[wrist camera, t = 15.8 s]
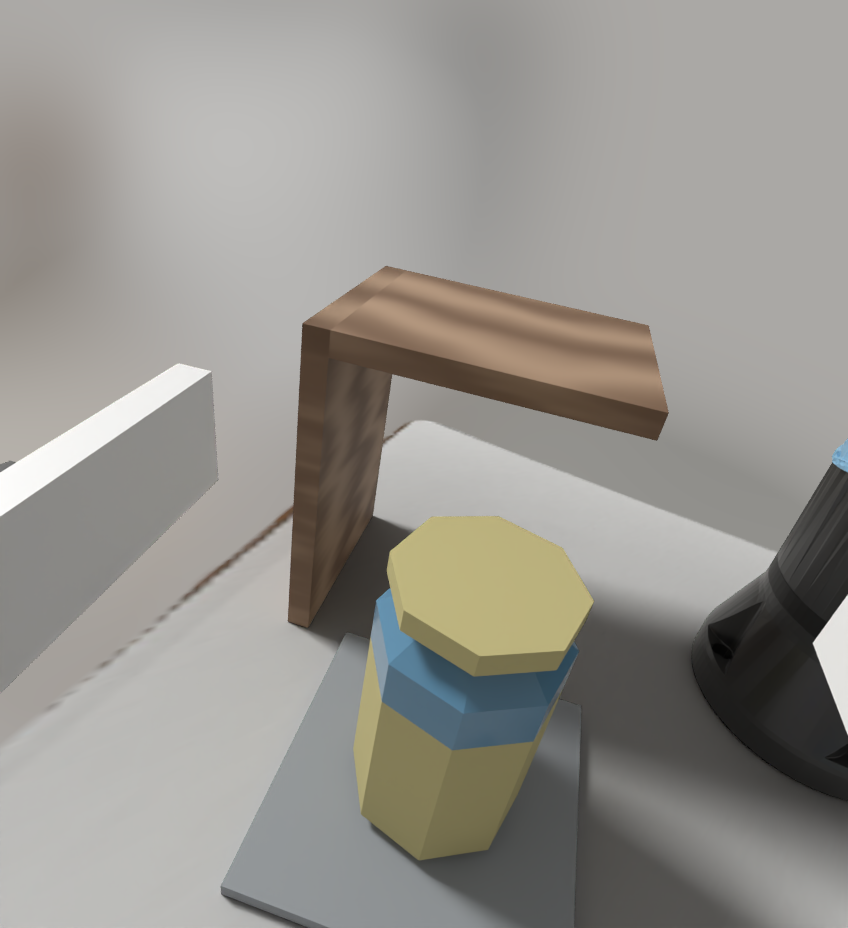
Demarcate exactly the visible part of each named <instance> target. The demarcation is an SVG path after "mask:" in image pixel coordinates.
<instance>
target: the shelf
mask: <svg viewBox="0 0 848 928" xmlns="http://www.w3.org/2000/svg"><path fill="white" fill-rule="evenodd" d="M302 327H303V328H302V345H301V366H300V386H299V406H298V426H297V449H296V467H295V487H294V507H293V528H292V548H291V568H290V589H289V609H288V622H291V623H294V624H297V625H300V626H304V627H307V628H308V627H309V625H310V624H311V622H312V620H313V618H314V617H315V615H316V613H317V611H318V610H319V608H320V606H321V605H322V603H323V601H324V599H325V598H326V596H327V594H328V592H329V591H330V589H331V587H332V585H333V584H334V582H335V580H336V578H337V577H338V575H339V573H340V571H341V570H342V568H343V566H344V564H345V563H346V561H347V559H348V558H349V556H350V554H351V552H352V551H353V549H354V547H355V545H356V544H357V542H358V540H359V538H360V537H361V535H362V533H363V531H364V530H365V528H366V526H367V524H368V523H369V521H370V519H371V517H372V516H373V510H374V503H375V496H376V488H377V481H378V474H379V466H380V459H381V452H382V445H383V437H384V430H385V423H386V415H387V408H388V401H389V394H390V385H391V379H392V374H394V375H398V376H402V377H406V378H410V379H414V380H418V381H422V382H426V383H430V384H434V385H438V386H442V387H446V388H450V389H454V390H458V391H462V392H466V393H470V394H474V395H478V396H481V397H486V398H489V399H494V400H497V401H502V402H505V403H509V404H514V405H518V406H521V407H525V408H529V409H533V410H538V411H541V412H545V413H549V414H553V415H557V416H561V417H565V418H569V419H573V420H577V421H581V422H585V423H589V424H593V425H597V426H601V427H605V428H609V429H613V430H617V431H621V432H625V433H629V434H633V435H637V436H640V437H645V438H649V439H652V440H658V437H659V435H660V433H661V430H662V428H663V425H664V423H665V421H666V418H667V416H668V413H669V412H668V409H667V404H666V399H665V395H664V391H663V386H662V382H661V378H660V374H659V369H658V364H657V360H656V356H655V351H654V347H653V343H652V338H651V334H650V330H649V326H648V325H644V324H639V323H635V322H631V321H626V320H622V319H618V318H613V317H608V316H604V315H599V314H596V313H591V312H587V311H582V310H578V309H573V308H569V307H565V306H560V305H556V304H551V303H547V302H542V301H538V300H534V299H529V298H525V297H520V296H516V295H512V294H507V293H503V292H499V291H494V290H490V289H485V288H481V287H477V286H472V285H467V284H463V283H459V282H455V281H450V280H446V279H441V278H437V277H432V276H428V275H424V274H419V273H415V272H410V271H406V270H402V269H397V268H393V267H388V266H385V267H384V268H382V269H381V270H379V271H378V272H377V273H375V274H374V275H372V276H371V277H369V278H368V279H366V280H365V281H364V282H362V283H360V284H359V285H358V286H356V287H355V288H353V289H352V290H350V291H349V292H347V293H346V294H345V295H343V296H342V297H340V298H339V299H337V300H336V301H334V302H333V303H331V304H330V305H328V306H327V307H326V308H324V309H323V310H321V311H320V312H318V313H317V314H315V315H314V316H313V317H311V318H310V319H308V320H307V321H305V322H304V323H303V325H302Z"/></svg>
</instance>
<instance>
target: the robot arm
mask: <svg viewBox="0 0 848 928" xmlns="http://www.w3.org/2000/svg"><path fill="white" fill-rule="evenodd" d="M832 458H833V460H832V461H833V462H832V464H831V466H830V467H829V469H828V471H827V472H826V474H825V476H824V477H823V479H822V480H821V482H820V484H819V485H818V487H817V489H816V490H815V492H814V494H813V495H812V497H811V499H810V500H809V502H808V504H807V506H806V507H805V509H804V510H803V512H802V514H801V515H800V517H799V519H798V520H797V522H796V524H795V525H794V527H793V529H792V530H791V532H790V534H789V536H788V537H787V539H786V540H785V542H784V543H783V545H782V546H781V548H780V550H779V552H778V553H777V555H776V557H775V558H774V560H773V561H772V563H771V565H770V566H769V568H768V569H767V570H766V572H764V573H763V574H761V575H760V576H759V577H757V578H756V579H755V580H753V581H752V582H750V583H749V584H748V585H746V586H745V587H744V588H742V589H741V590H739V591H738V592H737V593H735V594H734V595H733V596H731V597H730V598H729V599H727V600H726V601H724V602H723V603H722V604H720V605H719V606H718V607H716V608H715V609H714V610H713V611H712V612H711V613H710V614H709V616H708V617H707V618H706V620H705V622H704V624H703V625H702V627H701V629H700V630H699V632H698V634H697V636H696V637H695V640H694V643H693V646H692V664H693V669H694V673H695V676H696V679H697V681H698V684H699V686H700V688H701V690H702V692H703V694H704V696H705V697H706V699H707V701H708V702H709V704H710V705H711V707H712V708H713V709H714V711H715V712H716V713H717V715H718V716H719V717H720V719H721V720H722V721H723V722H724V723H725V724H726V726H727V727H728V728H729V729H730V730H731V731H732V732H733V733H734V734H735V735H736V736H737V737H738V738H739V739H740V740H741V741H742V742H743V743H744V744H745V745H747V746H748V747H749V748H750V749H751V750H752V751H754V752H755V753H756V754H757V755H759V756H760V757H761V758H763V759H764V760H765V761H767V762H768V763H769V764H771V765H772V766H774V767H775V768H777V769H778V770H780V771H781V772H783V773H785V774H786V775H788V776H790V777H791V778H793V779H795V780H797V781H799V782H801V783H803V784H805V785H807V786H809V787H811V788H813V789H815V790H818V791H820V792H823V793H825V794H828V795H831V796H834V797H837V798H840V799H844V800H848V439H847V440H846V441H845V443H844V444H843V445H841V446H840V447H838V448H837V449H836V450H835V452H834V454H833V456H832ZM217 481H218V467H217V451H216V435H215V419H214V404H213V387H212V372H211V371H207V370H203V369H199V368H195V367H191V366H187V365H183V364H179V363H178V364H176V365H175V366H173V367H171V368H170V369H168V370H166V371H165V372H163V373H162V374H160V375H158V376H157V377H155V378H153V379H152V380H150V381H149V382H147V383H145V384H144V385H142V386H141V387H139V388H137V389H135V390H134V391H132V392H130V393H129V394H127V395H126V396H124V397H122V398H121V399H119V400H118V401H116V402H114V403H113V404H111V405H110V406H108V407H106V408H105V409H103V410H101V411H100V412H98V413H96V414H95V415H93V416H92V417H90V418H88V419H87V420H85V421H83V422H82V423H80V424H78V425H77V426H75V427H74V428H72V429H70V430H69V431H67V432H65V433H64V434H62V435H60V436H59V437H57V438H56V439H54V440H52V441H51V442H49V443H48V444H46V445H44V446H42V447H41V448H39V449H38V450H36V451H35V452H33V453H31V454H29V455H28V456H26V457H25V458H23V459H21V460H20V461H18V462H12V461H9V462H5V463H3V464H0V693H1V692H2V691H3V690H5V689H6V688H7V687H8V686H9V685H10V683H12V682H13V681H14V680H15V679H16V678H17V676H19V675H20V674H21V673H22V672H23V671H24V670H25V669H26V668H27V667H28V666H29V665H30V664H31V663H32V662H33V661H34V660H35V659H36V658H37V657H38V656H39V655H40V654H41V653H42V652H43V651H44V650H45V649H46V648H47V647H48V646H49V645H50V644H51V643H53V641H55V640H56V638H57V637H59V635H61V634H62V633H63V632H64V631H65V630H66V629H67V628H68V627H69V626H70V625H71V624H72V623H73V622H74V621H75V620H76V619H77V618H78V617H79V616H80V615H81V614H82V613H83V612H84V611H85V610H86V609H87V608H88V607H89V606H90V605H91V604H92V603H93V602H94V601H95V600H96V599H97V598H98V597H99V596H101V594H103V593H104V592H105V590H107V589H108V588H109V587H110V586H111V585H112V584H113V583H114V582H115V581H116V580H117V579H118V578H119V577H120V576H121V575H122V574H123V573H124V572H125V571H126V570H127V569H128V568H129V567H130V566H131V565H132V564H133V563H134V562H135V561H136V560H137V559H138V558H139V557H140V556H141V555H142V554H143V553H144V552H145V551H146V550H147V549H148V548H150V547H151V545H153V544H154V543H155V542H156V541H157V540H158V539H159V538H160V537H161V536H162V535H163V534H164V533H165V532H166V531H167V530H168V529H169V528H170V527H171V526H172V525H173V524H174V523H175V522H176V521H177V520H178V519H179V518H180V517H181V516H182V515H183V514H184V513H185V512H186V511H187V510H188V509H189V508H190V507H191V506H192V505H193V504H194V503H195V502H196V501H197V500H199V499H200V497H201V496H203V495H204V494H205V493H206V492H207V491H208V490H209V489H210V488H211V487H212V486H213V485H214V484H215V483H216V482H217Z"/></svg>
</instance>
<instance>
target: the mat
mask: <svg viewBox="0 0 848 928" xmlns="http://www.w3.org/2000/svg"><path fill="white" fill-rule="evenodd" d="M369 644H370V639H368V638H365V637H361V636H358V635H355V634H352V633H349V632H346V634H345V636H344V638H343V640H342V642H341V644H340V646H339V648H338V650H337V652H336V654H335V656H334V658H333V660H332V662H331V664H330V666H329V668H328V670H327V672H326V674H325V676H324V678H323V680H322V682H321V684H320V686H319V688H318V691H317V693H316V695H315V697H314V699H313V701H312V703H311V705H310V707H309V709H308V711H307V713H306V715H305V717H304V719H303V721H302V723H301V725H300V727H299V729H298V731H297V733H296V735H295V737H294V739H293V741H292V743H291V745H290V747H289V749H288V751H287V753H286V755H285V757H284V759H283V761H282V763H281V765H280V767H279V769H278V771H277V773H276V775H275V777H274V779H273V781H272V783H271V785H270V787H269V789H268V792H267V794H266V796H265V798H264V800H263V802H262V804H261V806H260V808H259V810H258V812H257V814H256V816H255V818H254V820H253V822H252V824H251V826H250V828H249V830H248V832H247V834H246V836H245V838H244V840H243V842H242V844H241V846H240V848H239V850H238V852H237V854H236V856H235V858H234V860H233V862H232V864H231V866H230V868H229V870H228V872H227V874H226V876H225V878H224V880H223V882H222V884H221V894H223V895H225V896H228V897H230V898H233V899H236V900H238V901H241V902H243V903H246V904H248V905H251V906H254V907H256V908H259V909H261V910H264V911H266V912H269V913H272V914H274V915H277V916H279V917H282V918H285V919H287V920H290V921H292V922H295V923H297V924H300V925H303V926H305V927H308V928H574V917H575V887H576V857H577V826H578V796H579V766H580V735H581V705H577V704H574V703H571V702H568V701H565V700H562V699H559V700H558V702H557V704H556V707H555V709H554V711H553V714H552V716H551V718H550V721H549V723H548V725H547V728H546V730H545V732H544V734H543V737H542V739H541V741H540V744H539V746H538V748H537V751H536V753H535V755H534V758H533V760H532V762H531V765H530V767H529V769H528V772H527V774H526V776H525V779H524V781H523V783H522V786H521V788H520V790H519V793H518V795H517V797H516V798H515V800H514V802H513V804H512V806H511V808H510V810H509V811H508V813H507V815H506V817H505V819H504V821H503V823H502V825H501V826H500V828H499V830H498V832H497V834H496V836H495V838H494V840H493V841H492V843H491V845H490V847H489V849H488V850H483V851H477V852H470V853H464V854H457V855H451V856H445V857H438V858H432V859H425V860H418V859H416V858H415V857H414V856H413V855H411V854H410V853H409V852H408V851H406V850H405V849H404V848H403V847H401V846H400V845H399V844H398V843H396V842H395V841H394V840H393V839H391V838H390V837H389V836H388V835H386V834H385V833H384V832H383V831H381V830H380V829H379V828H378V827H376V826H375V825H374V824H373V823H371V822H370V821H369V820H367V819H366V818H365V817H364V816H362V815H361V811H360V803H359V794H358V786H357V777H356V768H355V760H354V751H353V747H354V740H355V734H356V728H357V721H358V715H359V708H360V702H361V696H362V689H363V683H364V676H365V670H366V663H367V657H368V651H369Z"/></svg>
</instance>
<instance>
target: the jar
mask: <svg viewBox="0 0 848 928" xmlns="http://www.w3.org/2000/svg"><path fill="white" fill-rule="evenodd" d="M387 575H388V579H389V584H390V588H389V589H388V590H387V591H386V592H385V593H384V594H383V595H382V596H380V597H379V598H378V599H377V600H376V606H375V612H374V619H373V625H372V631H371V638H370V644H369V651H368V657H367V663H366V670H365V676H364V683H363V689H362V696H361V702H360V708H359V715H358V721H357V728H356V734H355V740H354V747H353V751H354V760H355V768H356V777H357V786H358V794H359V803H360V811H361V815H362V816H364V817H365V818H366V819H367V820H369V821H370V822H371V823H373V824H374V825H375V826H376V827H378V828H379V829H380V830H381V831H383V832H384V833H385V834H386V835H388V836H389V837H390V838H391V839H393V840H394V841H395V842H396V843H398V844H399V845H400V846H401V847H403V848H404V849H405V850H406V851H408V852H409V853H410V854H411V855H413V856H414V857H415V858H416V859H418V860H425V859H432V858H438V857H445V856H451V855H457V854H464V853H470V852H477V851H483V850H488V849H489V847H490V845H491V843H492V841H493V840H494V838H495V836H496V834H497V832H498V830H499V828H500V826H501V825H502V823H503V821H504V819H505V817H506V815H507V813H508V811H509V810H510V808H511V806H512V804H513V802H514V800H515V798H516V797H517V795H518V793H519V790H520V788H521V786H522V783H523V781H524V779H525V776H526V774H527V772H528V769H529V767H530V765H531V762H532V760H533V758H534V755H535V753H536V751H537V748H538V746H539V744H540V741H541V739H542V737H543V734H544V732H545V730H546V728H547V725H548V723H549V721H550V718H551V716H552V714H553V711H554V709H555V707H556V704H557V702H558V700H559V697H560V695H561V693H562V690H563V688H564V686H565V683H566V681H567V679H568V676H569V674H570V672H571V669H572V667H573V665H574V662H575V660H576V658H577V655H578V653H579V650H578V648H577V646H576V644H575V642H574V640H575V638H576V637H577V635H578V633H579V632H580V630H581V628H582V626H583V625H584V623H585V621H586V619H587V617H588V615H589V612H590V610H591V608H592V605H593V603H594V600H593V599H592V597H591V595H590V594H589V592H588V590H587V588H586V587H585V585H584V583H583V582H582V580H581V578H580V577H579V575H578V573H577V572H576V570H575V568H574V566H573V565H572V563H571V561H570V560H569V558H568V556H567V555H566V553H565V551H564V550H563V548H562V547H560V546H558V545H556V544H554V543H552V542H549V541H547V540H545V539H543V538H541V537H539V536H537V535H535V534H533V533H531V532H529V531H527V530H525V529H523V528H521V527H519V526H517V525H515V524H513V523H511V522H509V521H507V520H505V519H503V518H501V517H499V516H467V517H431V518H429V519H428V520H427V521H426V522H425V523H423V524H422V525H421V526H420V527H419V528H417V529H416V530H415V531H414V532H413V533H411V534H410V535H409V536H408V537H407V538H405V539H404V540H403V541H402V542H401V543H399V544H398V545H397V546H396V547H395V548H393V549H392V550H391V551H390V553H389V560H388V566H387Z"/></svg>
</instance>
